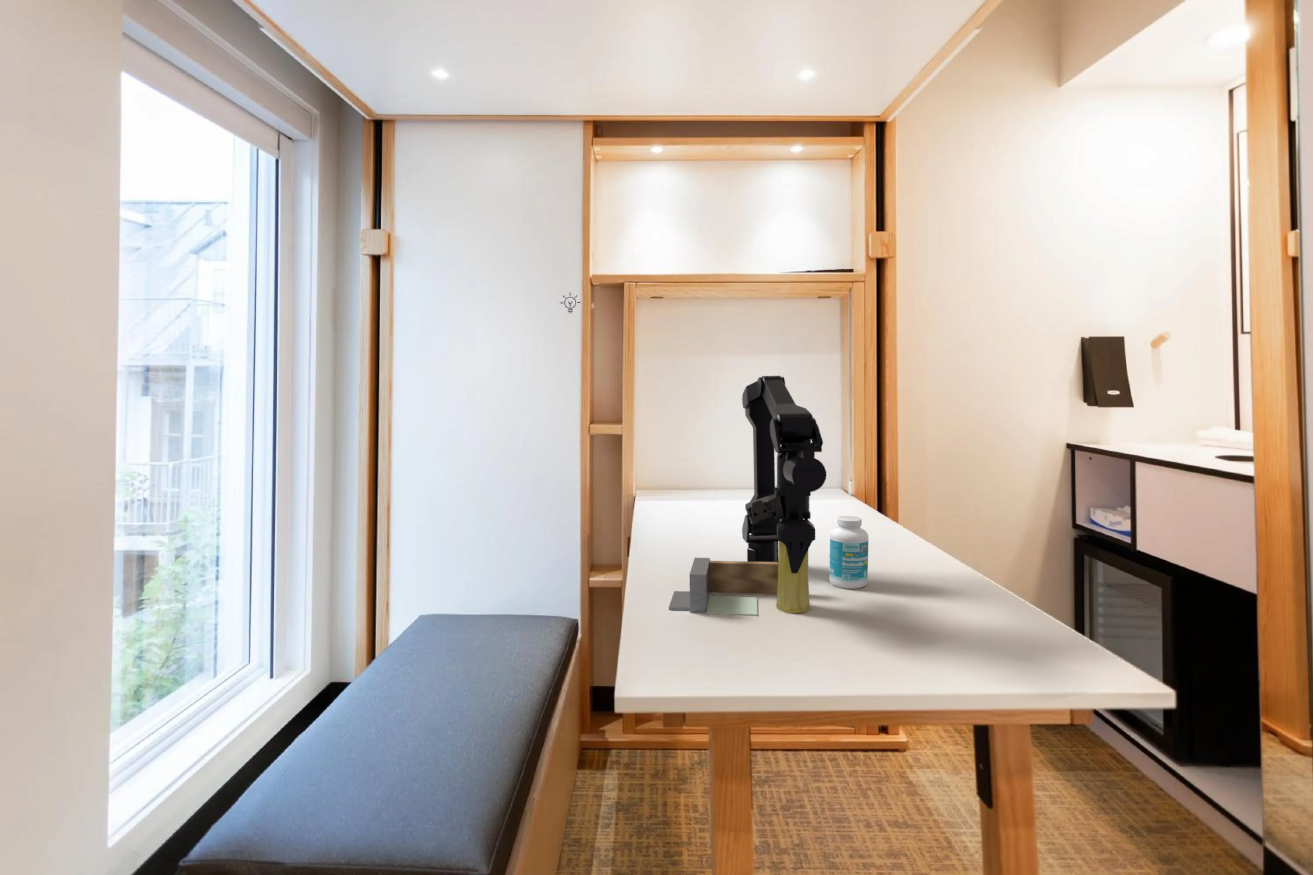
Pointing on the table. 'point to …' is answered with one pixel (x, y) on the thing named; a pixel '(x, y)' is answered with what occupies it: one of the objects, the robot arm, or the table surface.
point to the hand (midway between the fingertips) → (793, 567)
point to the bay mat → (732, 605)
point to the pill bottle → (849, 553)
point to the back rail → (743, 577)
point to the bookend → (694, 589)
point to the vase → (792, 584)
